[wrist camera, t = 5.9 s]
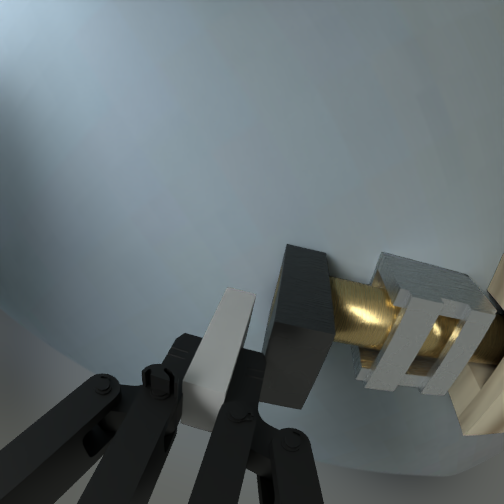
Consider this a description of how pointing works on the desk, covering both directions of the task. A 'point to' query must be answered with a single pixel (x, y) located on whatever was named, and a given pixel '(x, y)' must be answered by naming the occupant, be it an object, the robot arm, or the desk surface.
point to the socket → (482, 384)
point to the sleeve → (423, 326)
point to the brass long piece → (337, 326)
